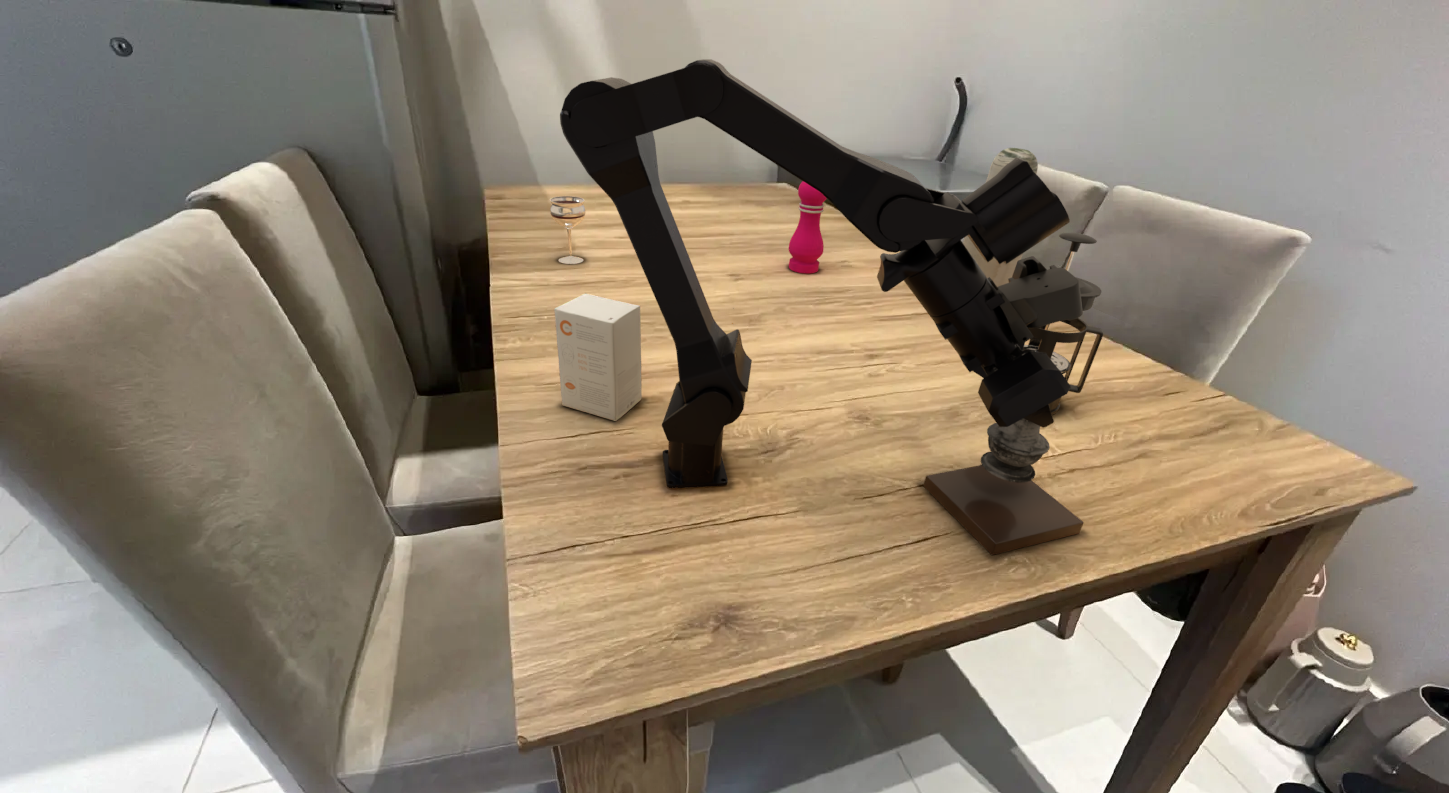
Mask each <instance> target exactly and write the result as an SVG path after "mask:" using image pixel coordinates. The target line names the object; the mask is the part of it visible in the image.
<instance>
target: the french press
mask: <svg viewBox="0 0 1449 793" xmlns="http://www.w3.org/2000/svg"><path fill="white" fill-rule="evenodd" d="M1058 237H1059V238H1060V239H1062V240H1064V241H1068V242H1071V244H1070V246H1069V247H1070V248H1069V252H1070V254H1069V255H1070V256H1069V258H1068V260H1067V263H1066V267H1065V269H1066V270H1067V271H1068V272H1069V271H1070V267H1071V265H1072V261H1073V259H1074V255H1075V253H1078V250H1079V249H1080V246H1081V244H1083V245H1084V244H1085V245H1094V244H1097V243H1098V242H1097V241H1098V240H1097V239H1096V238H1094V237H1093V236H1090V235H1087V234H1084V233H1079V232H1062V233H1060V234H1058ZM1075 277H1076V276H1075ZM1076 278H1077V279H1078V280H1079V285H1080V294H1081V302H1082V310H1083V312H1084V311H1085V312H1086V311H1089V310H1090V309H1092V307H1093V305H1094V302H1095V299H1096V298H1098V297H1100V296H1101V295H1102V289H1101V288H1100V287H1099V286H1098V285H1096V284H1095V283H1094V282H1091V281H1088V280H1085V279H1082V278H1080V277H1076ZM1060 322H1061V323H1064V324H1066V325H1069V326H1071V327H1073V328H1075V329H1076V330H1078V331H1077V332H1060V331H1055V330H1054V331H1053V330H1050V325H1051V324H1048V325H1044V326H1041V327H1036V328H1028V329H1029V331H1030V332H1031V334H1032V335H1033V338H1031V339H1029V340H1028V341H1029V342H1028V344H1024V348H1023V350H1026V349H1031V350H1032V351H1034V352H1043V353H1046V354H1047V356H1048V357H1049V358H1050V359H1051V360H1052V362H1053V363H1054V364H1055V365H1056V366H1057V368H1058V369H1059V370H1060V371H1061V373H1062V374H1063V375H1064V374H1065V375H1064V377H1065V379H1066V380H1067V382H1068V383H1069V378H1070V376H1071V374H1072V370H1073V368H1074V366H1075V363H1076V361H1077V358H1078V355H1079V352H1080V350H1081V348H1082V344H1083V342H1084V339H1085V337H1086V334H1087V333H1089V334H1094V335H1096V336H1095V339H1094V341H1093V344H1092V347H1091V349H1090V352H1089V355H1088V357H1087V360H1086V363H1085V364H1084V367H1083V370H1082V373H1081V375H1080V378H1079V380H1078V383H1077V384H1076V385H1075V384H1071V383H1069V385H1070V386H1071V388H1070V389H1069V391H1068V392H1071V393H1076V394H1080V393H1081V392H1082V390H1083V388H1084V385H1085V382H1086V380H1087V378H1088V375H1089V373H1090V370H1091V367H1092V365H1093V362H1094V360H1095V357H1096V355H1097V352H1098V350H1099V347H1100V345H1101V342H1102V340H1103V337H1104V331H1103V329H1102V328H1101V327H1096V326H1091V325H1088V324H1087V323H1086V322H1085V321H1084V320H1083V319H1080V317H1079V318H1077V319H1074V320H1070V321H1069V320H1062V321H1060ZM1057 343H1058V344H1059V343H1060V344H1074V343H1076V345H1075V347H1074V351H1073V353H1072V356H1071V359H1070V361H1069V360H1068V358H1066V357H1064V356H1063V355H1061V354H1060V353H1058V352H1056V351H1055V348H1056V345H1057ZM1062 398H1063V396H1062V397H1061V398H1059V399H1057V400H1055V401H1053V402H1052V403H1050V404H1049V407H1050V410H1051V413H1052V416H1054V415H1055V414H1057V413H1058V412H1059V410H1060V408H1061V400H1062Z"/></svg>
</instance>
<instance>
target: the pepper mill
mask: <svg viewBox="0 0 1449 793" xmlns="http://www.w3.org/2000/svg"><path fill="white" fill-rule="evenodd" d="M797 195H798V198H799V199H800V202H799V207H798V210H799V212H800V213H799V220H798V223H797V225H796V228H795V230H794V232H793V234H792V236H791V237H790V241H789V244H788V252H789V254H790V256H791V257H790V258H789V259H788V260H789V261H788V269H789V270H791V271H792V272H795V273H798V274H814V273H817V272H818V271H819V267H820V261H819V260H818V259H820V258H821V256H822V255H823V253H824V246H825V245H824V239H823V236H822V232H821V216H822V213H823V212H824V208H825V204H824V202H825V201H826V200H828V199H827V198H826V197H825V196H824V195H823V194H822V193H821V192H819V191H818V190H816V189H815V188H813V187H812V186H810V185H808V184H807V183H805V182H804V181H802V180H801V183H800V184H799V186H798V190H797Z"/></svg>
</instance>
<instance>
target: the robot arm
mask: <svg viewBox="0 0 1449 793" xmlns="http://www.w3.org/2000/svg"><path fill="white" fill-rule="evenodd" d="M563 100H564V101H563V104H562V107H561V111H560V113H559V124H560V127H561V130H562V134H563V136H564V137H565V140H566V141H567V143H568V145H569V146H570V148H571V149H572V151H573V152H574V154H575V156H576V158H577V159H578V160H579V162H580V164H581V165H582V166H583V168H584V170H585V171H586V173H587V175H588V176H589V177H590V178H591V179H592V180H593V181H594V182H595V183H596V185H598V186H599V188H600V189H601V190H602V191H603V192H604V193H605V194H606V195H607V196H608V198H609V199H611V201H612V203H613V204H614V206H615V208H616V210H617V213H618V215H619V218H620V220H621V222H622V224H623V226H624V229H625V232H626V233H627V236H628V239H629V240H630V241H629V242H630V243H631V245H632V247H633V250H634V253H635V255H636V257H637V259H638V261H639V263H640V265H641V268H642V271H643V274H644V275H645V277H646V280H647V282H648V284H649V287H650V289H651V291H652V294H653V297H654V298H655V300H656V303H657V305H658V307H659V310H660V312H661V315H662V317H663V319H664V322H665V324H666V326H667V329H668V330H669V331H668V332H669V333H670V336H671V338H672V340H673V342H674V346H675V351H676V360H677V370H678V380H679V381H677V382H676V383H675V386H674V388H673V392H672V394H671V398H670V399H669V403H668V405H667V409H666V411H665V415H664V417H663V420H662V423H661V427H662V430H663V432H664V435H665V438H666V440H667V442H668V448H667V449H664V450H662V462H663V472H664V481H665V486H666V488H667V489H691V488H693V489H694V488H710V487H711V488H713V487H726V486H727V485H728V484H729V479H728V475H727V471H726V467H725V463H724V459H723V456H722V454H723V439H724V428H725V426H728V425H730V424H732V423H734V422H735V421H736V420H737V419H739V418H740V416H741V414H742V412H743V411H744V408H745V400H746V395H747V394H746V393H747V392H748V391H749V385H750V384H749V383H750V377H751V369H752V362H753V360H752V359H751V358H750V356H749V355H748V354H747V353H746V351H745V349H744V345H743V341H742V337H741V332H740V330H739V329H738V328H737V329H734V330H732V331H730V332H728V333H726V332H725V331H724V330H723V329H722V328H721V327H720V326H719V325H718V323H717V322H716V320H715V319H714V316H713V314H712V311H711V309H710V306H709V304H708V301H707V298H706V296H705V293H704V291H703V288H702V286H701V283H700V281H699V278H698V276H697V274H696V273H697V272H696V271H695V268H694V266H693V262H692V261H691V258H690V256H689V252H688V250H687V248H686V245H685V242H684V240H683V238H682V235H681V233H680V230H679V228H678V224H677V222H676V220H675V218H674V215H673V212H672V210H671V208H670V205H669V202H668V199H667V197H666V194H665V192H664V189H663V187H662V183H661V181H660V176H659V167H658V166H659V165H658V157H657V155H658V154H657V147H656V140H655V135H654V132H655V131H659V130H661V129H664V128H667V127H670V126H673V125H676V124H679V123H683V122H685V121H689V120H693V119H695V118H699V119H704V120H705V121H707V122H708V123H710V124H712V125H713V126H715V127H716V128H718V129H720V130H721V131H723V132H724V133H725V134H727V135H729V136H731V137H732V138H733V139H735V140H736V141H738V142H739V143H742V144H743V145H745V146H746V147H748V148H750V149H751V150H752V151H754V152H756V153H757V154H759V155H760V156H762V157H763V158H766V159H767V160H768V161H770V162H771V163H773V164H775V165H777V166H778V167H780V168H781V169H783V170H785V171H786V172H788V173H789V174H791V175H792V176H794V177H795V178H797V179H799V180H800V181H801V182H802V181H804V182H805V183H807V184H808V185H810V186H812V187H813V188H815V189H816V190H818V191H819V192H821V193H822V194H823V195H824V196H825V197H826V198H827V199H826V200H828V201H829V202H830V203H831V204H832V205H833V206H834V207H835V208H836V210H838V211H839V212H840V214H842V216H843V217H845V219H846V220H847V221H848V222H849V223H850V224H851V225H853V227H854V228H856V229H857V231H859V232H860V233H862V235H863V236H864V237H865V238H866V239H868V240H869V241H870V242H871V243H872V244H873V245H874V246H876V247H877V248H878V249H880V250H883V251H885V252H887V253H885V252H882V253H881V254H880V255H879V258H880V265H879V269H878V271H877V275H876V278H877V281H878V284H879V286H880V289H881V291H882V292H884V293H888V292H890V291H891V290H892V289H894V288H895V287H896V286H898V285H899V284H901V283H902V282H904V283H905V284H906V286H907V287H908V288H909V290H910V291H911V293H912V294H913V296H914V297H915V298H916V299H917V301H918V302H919V304H921V306H922V307H923V308H924V311H925V312H926V313H927V314H928V316H929V317H930V319H931V320H932V321H933V323H934V325H935V326H936V328H937V330H938V333H939V334H940V335H941V336H942V337H943V339H944V340H945V341H946V340H947V342H949V344H950V345H951V347H952V348H953V349H954V350H955V352H956V353H957V354H958V356H959V359H960V360H961V362H962V364H963V366H964V367H965V369H966V370H967V371H968V372H969V373H971V372H973V373H974V374H976V375H978V376H980V377H981V378H982V379H981V380H980V385H979V388H978V391H977V394H978V395H979V397H980V399H981V401H982V403H983V405H984V407H985V409H986V411H987V412H988V413H989V415H990V417H991V418H992V419H993V420H994V421H995V423H997V424H998V425H999V427H1008V426H1010V425H1012V424H1014V423H1016V422H1017V421H1019V420H1021V419H1025V420H1028V421H1030V422H1032V423H1034V424H1036V425H1039V426H1040V428H1047V427H1049V426H1050V425H1052V424H1053V423H1054V422H1055V420H1054V417H1053V416H1054V415H1052V413H1051V410H1050V407H1049V404H1050V403H1052V402H1053V401H1055V400H1057V399H1059V398H1061V397H1062V398H1063V397H1064V396H1066V395H1068V393H1069V392H1070V391H1069V389H1070V388H1071V386H1070V385H1069V384H1070V383H1069V381H1068V382H1067V380H1066V379H1065V375H1064V374H1062V373H1061V371H1060V370H1059V369H1058V368H1057V366H1056V365H1055V364H1054V363H1053V362H1052V360H1051V359H1050V358H1049V357H1048V356H1047V354H1046V353H1043V352H1034V351H1032V350H1031V349H1026V350H1023V348H1024V345H1026V342H1028V341H1030V339H1031V338H1033V335H1032V334H1031V332H1030V331H1029V329H1028V328H1036V327H1041V326H1044V325H1048V324H1050V325H1051V324H1055V323H1059V322H1061V321H1062V320H1069V321H1070V320H1074V319H1077V318H1079V319H1080V317H1082V316H1083V314H1084V311H1083V310H1082V302H1081V294H1080V285H1079V280H1078V279H1077V278H1078V277H1077V278H1076V276H1075V275H1074V274H1072V273H1071V272H1070V271H1069V270H1068V271H1067V270H1066V268H1064V267H1057V266H1056V265H1055V264H1052V265H1049V268H1048V269H1047V268H1046V267H1045V266H1044V265H1043V263H1041V261H1040V260H1039V259H1038V258H1036V257H1035V256H1033V255H1031V256H1028V257H1024V258H1021V260H1018V261H1017V264H1016V267H1015V270H1014V273H1013V275H1012V278H1008V280H1009V283H1007V284H1004V285H1001V286H998V287H997V286H996V285H995V283H994V282H993V280H992V279H991V278H990V277H989V278H987V277H986V276H985V274H984V273H983V271H982V270H981V269H980V267H979V266H978V264H977V263H976V261H975V260H974V258H973V257H972V255H971V254H970V253H969V251H968V250H967V248H966V247H965V245H964V244H963V242H964V241H963V240H964V237H966V236H968V237H969V239H970V240H971V241H972V243H973V244H974V246H975V247H976V249H977V250H978V251H979V253H980V254H981V255H982V257H983V258H984V259H985V260H986V262H987V263H988V262H989V261H991V260H992V259H993V257H994V258H995V259H996V261H997V262H998V263H999V264H1001V263H1003V262H1004V263H1005V264H1007V263H1009V262H1010V261H1012V260H1013V259H1015V258H1016V257H1018V256H1020V255H1021V254H1023V255H1024V253H1026V252H1027V251H1029V250H1030V249H1032V248H1034V247H1035V246H1036V245H1038V244H1040V243H1041V242H1042V241H1044V240H1045V239H1047V238H1048V237H1050V236H1051V235H1053V234H1054V233H1056V232H1058V231H1059V230H1060V229H1062V228H1064V227H1065V226H1066V225H1068V224H1069V223H1070V216H1069V214H1068V211H1067V209H1066V208H1065V206H1064V204H1063V202H1062V201H1061V199H1060V198H1059V196H1058V195H1057V194H1056V193H1055V192H1053V191H1051V190H1050V189H1049V187H1048V185H1046V184H1045V182H1044V181H1043V180H1042V178H1041V177H1039V175H1038V173H1037V174H1036V173H1035V172H1034V171H1033V170H1032V168H1031V167H1030V165H1029V163H1028V162H1027V161H1025V160H1023V159H1021V158H1015V159H1014V160H1012V161H1011V162H1010V163H1008V164H1007V165H1006V166H1005V167H1003V168H1002V169H1001V171H1000V172H999V173H998V174H997V175H996V176H994V177H993V178H992V179H990V180H989V181H988V182H986V181H985V182H984V183H983V184H982V185H981V186H979V187H978V188H976V189H975V190H974V191H972V192H971V193H970V194H968V195H967V196H965V197H964V198H962V199H961V200H960V198H959V197H958V196H956V195H955V194H952V193H950V192H949V191H947V192H946V191H940V190H936V189H933V188H928V187H925V186H924V185H923V184H922V183H921V181H920V180H919V179H918V178H917V177H915V175H914V174H913V173H911V172H909V171H908V170H905V169H903V168H900V167H899V166H895V165H893V164H890V163H887V162H886V161H883V160H880V159H878V158H875V157H873V156H870V155H866V154H864V153H860V152H857V151H854V150H852V149H849V148H847V147H844V146H842V145H840V144H839V143H837V141H834V140H833V139H831V138H830V137H828V136H827V135H825V134H824V133H822V132H821V131H819V130H818V129H816V128H814V127H813V126H811V125H810V124H808V123H807V122H805V121H803V119H801V118H799V117H797V116H796V115H794V114H792V113H791V112H790V111H788V110H787V109H785V108H784V107H782V106H781V105H779V104H778V103H776V102H775V101H773V100H771V99H770V98H768V97H767V96H765V95H763V94H762V93H761V92H759V91H758V90H756V89H754V88H753V87H751V86H750V85H748V84H746V83H745V82H744V81H742V80H741V79H739V78H738V77H735V76H734V75H733V74H731V72H729V71H728V69H727V68H725V66H724V65H723V64H722V63H720V62H718V61H716V60H714V59H697V60H695V61H692V62H690V63H688V64H686V66H684V67H683V68H679V69H676V70H673V71H670V72H666V73H663V74H659V75H657V76H654V77H653V76H652V77H650V78H647V79H644V80H643V79H642V80H640V81H637V82H633V83H631V82H629V81H627V80H625V79H623V78H618V77H612V76H611V77H605V78H600V79H594V80H589V81H584V82H581V83H579V84H577V85H576V86H574V87H573V88H571V90H570V91H569V92H568V94H567V95H566V97H565V98H564V99H563ZM1062 398H1061V399H1062Z"/></svg>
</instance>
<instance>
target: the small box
mask: <svg viewBox="0 0 1449 793" xmlns="http://www.w3.org/2000/svg"><path fill="white" fill-rule="evenodd" d="M553 311H554V318H555V319H554V322H555V333H556V344H557V346H556V347H557V358H558V370H559V372H558V373H559V384H560V385H559V386H560V395H561V396H560V397H561V405H562V406H563V407H567V408H571V409H574V410H576V411H579V412H583V413H587V414H590V415H594V416H596V417H599V418H600V417H601V418H603V419H607V420H611V421H613V422H617V421H619V419H621V418H622V417H623V416H624V415H626V414H627V413H628V412H629V411H630V410H631V409H632V408H634V407H635V406H636V405H637V404H638V403H639V402H641V400H642V398H643V397H642V394H643V393H642V392H643V390H642V387H643V386H642V331H641V330H642V327H641V326H642V324H641V322H642V321H641V305H639V304H633V303H629V302H625V301H620V300H617V299H612V298H607V297H603V296H599V295H598V296H597V295H594V294H591V293H586V292H585V293H583V294H580V295H579V296H577V297H575V298H572V299H571V300H568V301H567V302H565V303H563V304H561V305H558V306H557V307H554V310H553Z"/></svg>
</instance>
